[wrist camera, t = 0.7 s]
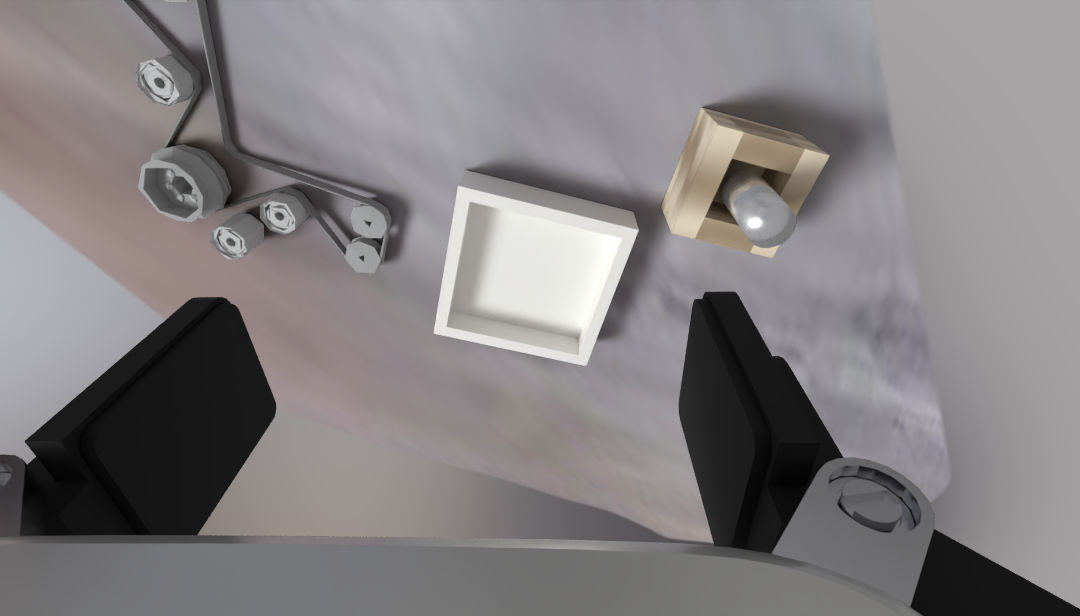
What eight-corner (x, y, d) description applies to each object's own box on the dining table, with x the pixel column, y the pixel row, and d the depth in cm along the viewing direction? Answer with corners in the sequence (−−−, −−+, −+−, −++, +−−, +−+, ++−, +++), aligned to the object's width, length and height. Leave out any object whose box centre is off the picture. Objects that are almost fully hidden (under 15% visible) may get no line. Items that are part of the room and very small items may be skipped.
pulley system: (300, 307, 51) (420, 240, 45) (275, 336, 47) (403, 267, 41) (37, 34, 39) (156, -101, 33) (-26, 42, 35) (97, -109, 29)
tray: (465, 169, 41) (458, 185, 39) (633, 211, 43) (638, 230, 40) (441, 311, 49) (433, 333, 46) (584, 342, 51) (586, 365, 48)
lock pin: (721, 152, 39) (760, 198, 32) (758, 162, 39) (805, 210, 32) (705, 190, 41) (737, 242, 33) (740, 199, 41) (781, 252, 34)
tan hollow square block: (701, 107, 38) (718, 125, 34) (801, 134, 39) (829, 155, 35) (660, 206, 43) (671, 233, 38) (751, 229, 43) (772, 258, 39)
